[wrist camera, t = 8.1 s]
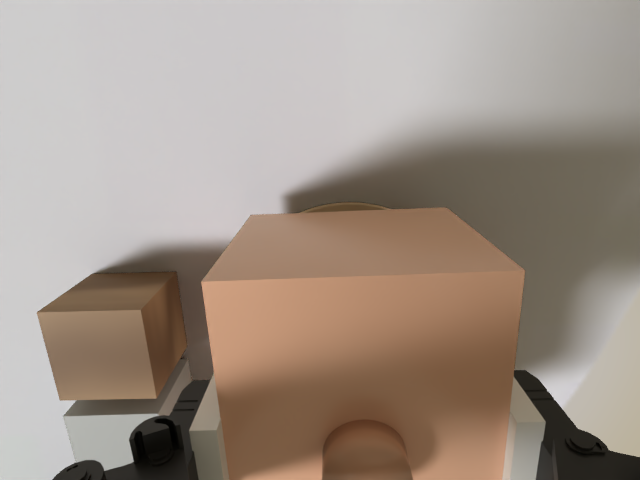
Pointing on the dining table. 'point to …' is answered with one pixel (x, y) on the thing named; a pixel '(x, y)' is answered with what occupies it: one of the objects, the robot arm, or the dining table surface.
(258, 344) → the tan block with knob
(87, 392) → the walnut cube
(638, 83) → the dining table surface
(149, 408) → the light gray cube
